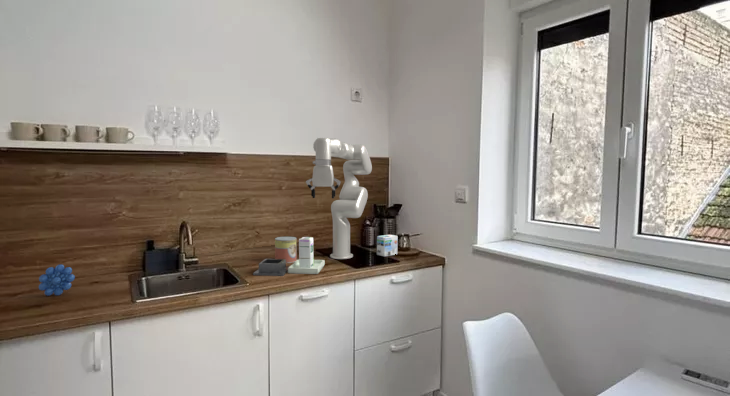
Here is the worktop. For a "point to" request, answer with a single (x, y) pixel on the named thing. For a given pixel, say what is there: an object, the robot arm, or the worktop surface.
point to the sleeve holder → (272, 267)
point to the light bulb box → (387, 245)
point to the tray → (314, 270)
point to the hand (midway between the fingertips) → (323, 198)
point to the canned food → (286, 249)
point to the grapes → (56, 280)
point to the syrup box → (306, 252)
